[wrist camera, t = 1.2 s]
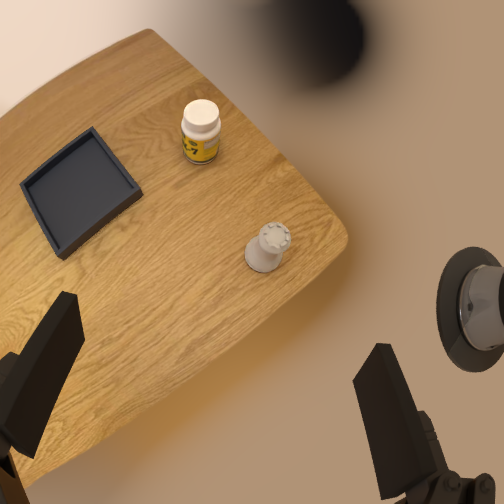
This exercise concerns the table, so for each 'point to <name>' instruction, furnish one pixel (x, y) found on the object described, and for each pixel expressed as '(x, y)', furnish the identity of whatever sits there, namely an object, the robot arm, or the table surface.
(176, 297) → the table surface
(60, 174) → the dark tray
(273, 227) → the rook chess piece
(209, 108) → the supplement bottle
